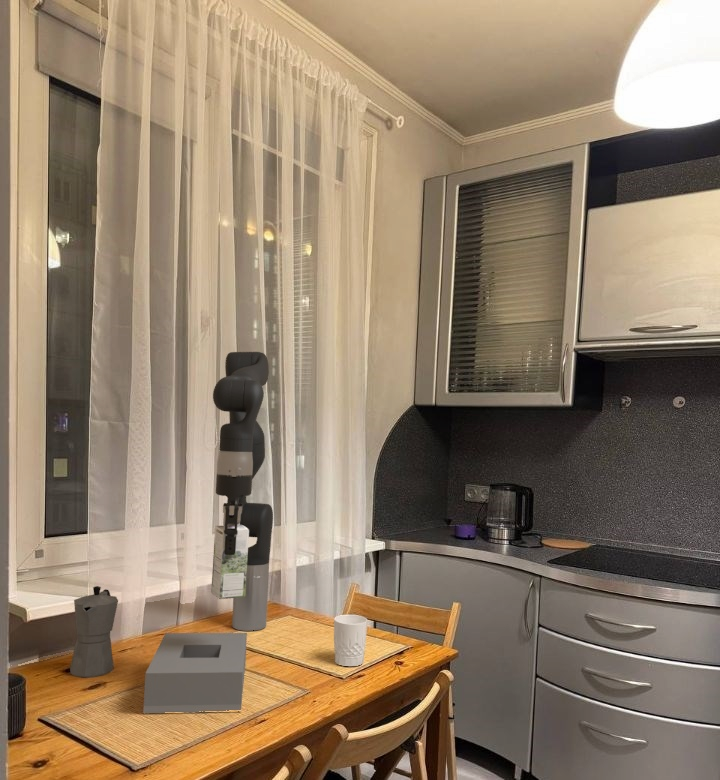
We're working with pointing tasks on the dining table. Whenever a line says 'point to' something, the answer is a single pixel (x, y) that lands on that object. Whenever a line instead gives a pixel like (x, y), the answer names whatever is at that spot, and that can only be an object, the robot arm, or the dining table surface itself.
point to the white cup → (349, 639)
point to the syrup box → (230, 564)
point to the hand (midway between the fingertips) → (230, 551)
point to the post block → (196, 673)
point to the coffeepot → (93, 634)
